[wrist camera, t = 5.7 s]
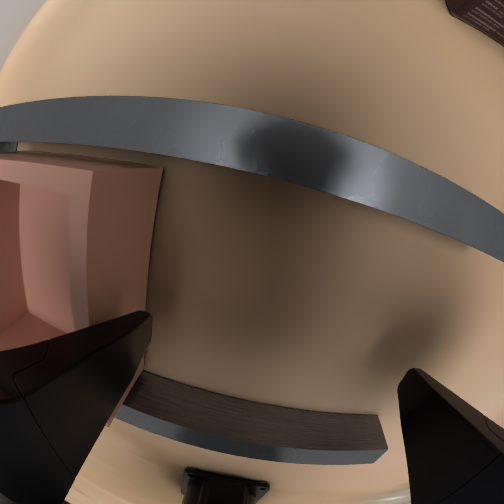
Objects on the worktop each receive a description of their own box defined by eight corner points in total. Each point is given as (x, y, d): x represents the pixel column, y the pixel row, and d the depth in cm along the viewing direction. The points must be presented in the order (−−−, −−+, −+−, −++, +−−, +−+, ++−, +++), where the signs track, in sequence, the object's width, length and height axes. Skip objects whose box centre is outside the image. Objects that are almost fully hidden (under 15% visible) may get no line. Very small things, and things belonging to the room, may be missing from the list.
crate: (144, 367, 11) (108, 427, 7) (30, 312, 11) (-13, 345, 8) (163, 168, 9) (92, 170, 5) (25, 150, 9) (-38, 156, 5)
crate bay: (365, 430, 12) (373, 463, 10) (13, 320, 12) (-9, 337, 10) (480, 211, 8) (518, 224, 6) (10, 113, 8) (-23, 112, 6)
